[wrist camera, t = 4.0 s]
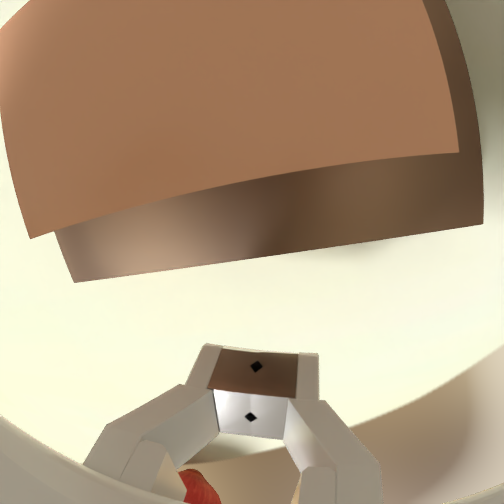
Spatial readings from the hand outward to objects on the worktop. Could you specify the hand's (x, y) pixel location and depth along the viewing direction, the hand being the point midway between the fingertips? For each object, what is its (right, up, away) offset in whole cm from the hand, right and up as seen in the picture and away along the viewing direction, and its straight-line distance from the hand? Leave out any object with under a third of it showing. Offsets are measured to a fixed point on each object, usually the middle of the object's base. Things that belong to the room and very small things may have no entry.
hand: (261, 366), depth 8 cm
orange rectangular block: (-1, +8, -1) cm, 8 cm away
